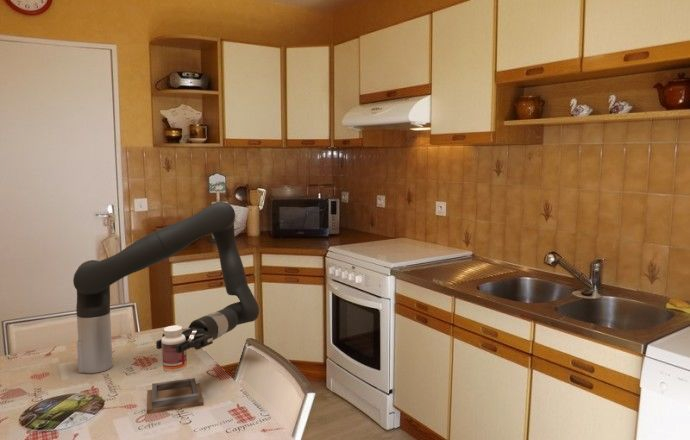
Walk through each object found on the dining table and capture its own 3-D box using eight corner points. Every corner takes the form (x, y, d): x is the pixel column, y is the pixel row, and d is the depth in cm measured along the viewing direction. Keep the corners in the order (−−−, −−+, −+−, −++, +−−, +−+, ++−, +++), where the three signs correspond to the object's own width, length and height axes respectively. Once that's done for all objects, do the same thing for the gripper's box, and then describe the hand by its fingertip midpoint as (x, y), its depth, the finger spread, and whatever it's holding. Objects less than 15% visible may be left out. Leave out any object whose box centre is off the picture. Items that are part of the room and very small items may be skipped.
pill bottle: (190, 369, 139) (188, 329, 137) (166, 374, 135) (164, 333, 134) (183, 361, 144) (181, 322, 142) (160, 366, 140) (158, 327, 139)
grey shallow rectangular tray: (146, 413, 132) (146, 403, 132) (147, 393, 144) (147, 383, 143) (203, 405, 137) (203, 395, 137) (199, 386, 148) (199, 376, 148)
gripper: (189, 312, 154) (145, 330, 139) (228, 318, 148) (187, 337, 133) (190, 336, 155) (147, 356, 140) (229, 344, 149) (189, 365, 134)
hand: (167, 347), depth 137 cm, fingers closed on pill bottle, 6 cm apart
